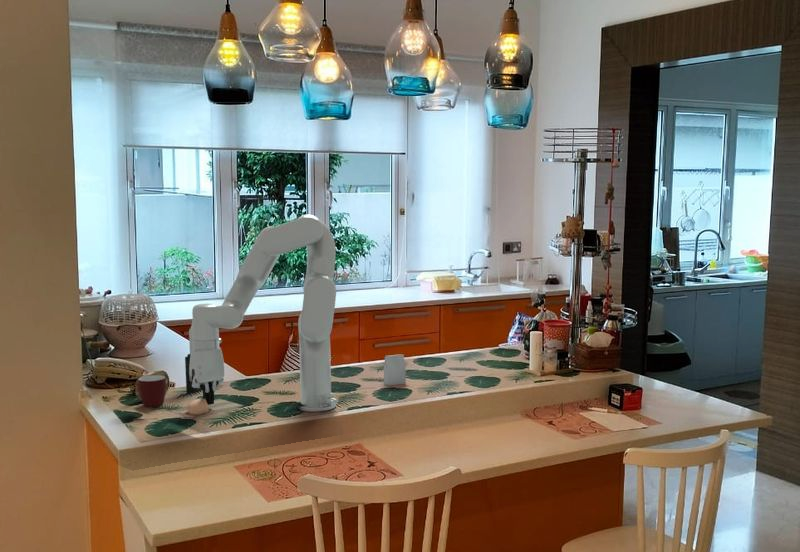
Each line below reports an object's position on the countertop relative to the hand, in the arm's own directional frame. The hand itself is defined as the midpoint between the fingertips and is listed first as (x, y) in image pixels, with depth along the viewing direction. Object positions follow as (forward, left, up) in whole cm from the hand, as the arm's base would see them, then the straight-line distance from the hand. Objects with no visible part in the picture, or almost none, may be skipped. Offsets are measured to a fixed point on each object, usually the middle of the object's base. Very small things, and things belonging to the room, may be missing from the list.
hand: (208, 403), depth 240 cm
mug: (+18, +9, -3) cm, 20 cm away
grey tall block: (-19, -63, -3) cm, 66 cm away
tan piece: (0, +1, -3) cm, 3 cm away
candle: (+23, -10, -3) cm, 25 cm away
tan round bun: (0, +4, -2) cm, 4 cm away
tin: (+30, +2, -3) cm, 30 cm away
